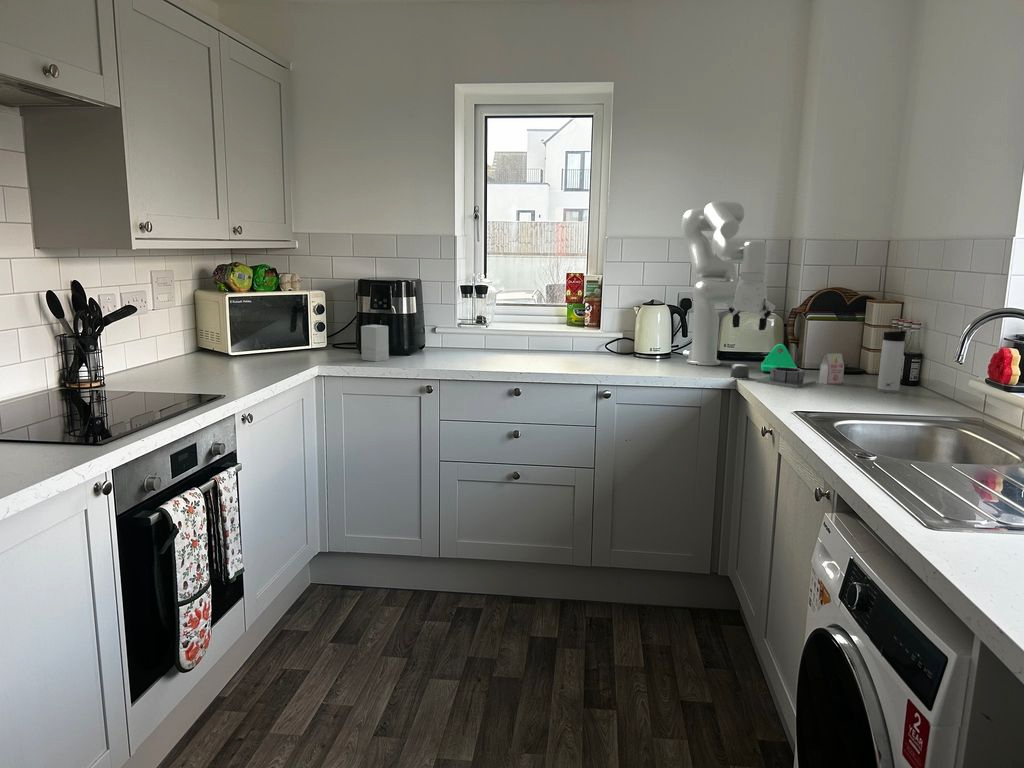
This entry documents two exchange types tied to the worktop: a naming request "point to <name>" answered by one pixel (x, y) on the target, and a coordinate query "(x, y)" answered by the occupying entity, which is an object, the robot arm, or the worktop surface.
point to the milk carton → (831, 369)
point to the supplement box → (374, 342)
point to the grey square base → (787, 377)
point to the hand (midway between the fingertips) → (748, 328)
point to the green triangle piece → (777, 359)
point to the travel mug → (891, 362)
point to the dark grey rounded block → (739, 371)
